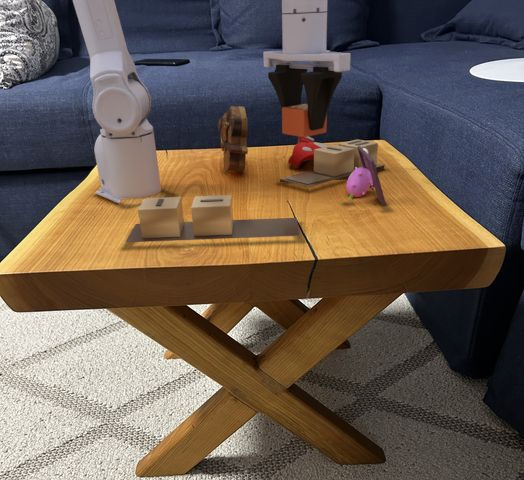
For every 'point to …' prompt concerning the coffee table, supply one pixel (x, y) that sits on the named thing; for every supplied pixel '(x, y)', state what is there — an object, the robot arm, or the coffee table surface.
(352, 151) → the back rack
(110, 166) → the robot arm
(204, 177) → the coffee table surface
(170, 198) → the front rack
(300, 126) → the terracotta cube
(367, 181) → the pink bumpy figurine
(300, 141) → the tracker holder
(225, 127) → the wooden carving
